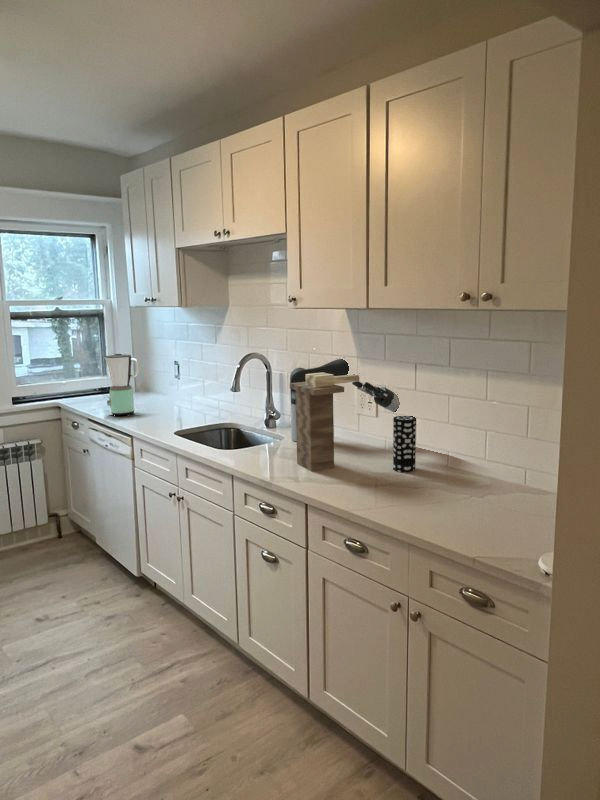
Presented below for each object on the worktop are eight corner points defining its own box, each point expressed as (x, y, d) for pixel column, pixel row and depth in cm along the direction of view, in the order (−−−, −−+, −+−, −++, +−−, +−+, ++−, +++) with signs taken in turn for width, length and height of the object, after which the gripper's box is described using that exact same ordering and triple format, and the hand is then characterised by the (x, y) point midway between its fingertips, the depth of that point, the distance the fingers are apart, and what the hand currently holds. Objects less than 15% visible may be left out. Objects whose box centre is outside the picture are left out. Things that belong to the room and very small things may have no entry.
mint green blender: (105, 417, 338) (100, 355, 332) (110, 412, 352) (105, 353, 345) (139, 416, 340) (135, 354, 334) (143, 411, 353) (139, 352, 347)
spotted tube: (409, 473, 222) (409, 421, 218) (389, 470, 227) (389, 418, 223) (419, 468, 228) (419, 417, 225) (399, 465, 233) (399, 414, 230)
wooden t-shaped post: (291, 461, 241) (289, 383, 236) (319, 456, 247) (318, 380, 241) (315, 474, 224) (313, 390, 218) (345, 469, 230) (344, 386, 224)
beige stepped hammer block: (305, 384, 232) (305, 374, 231) (351, 379, 241) (351, 369, 241) (315, 386, 225) (315, 376, 224) (362, 382, 234) (362, 371, 234)
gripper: (381, 389, 253) (353, 372, 245) (402, 393, 240) (373, 376, 233) (374, 404, 252) (345, 388, 245) (394, 410, 240) (364, 393, 232)
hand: (359, 382), depth 239 cm, fingers open, 8 cm apart
